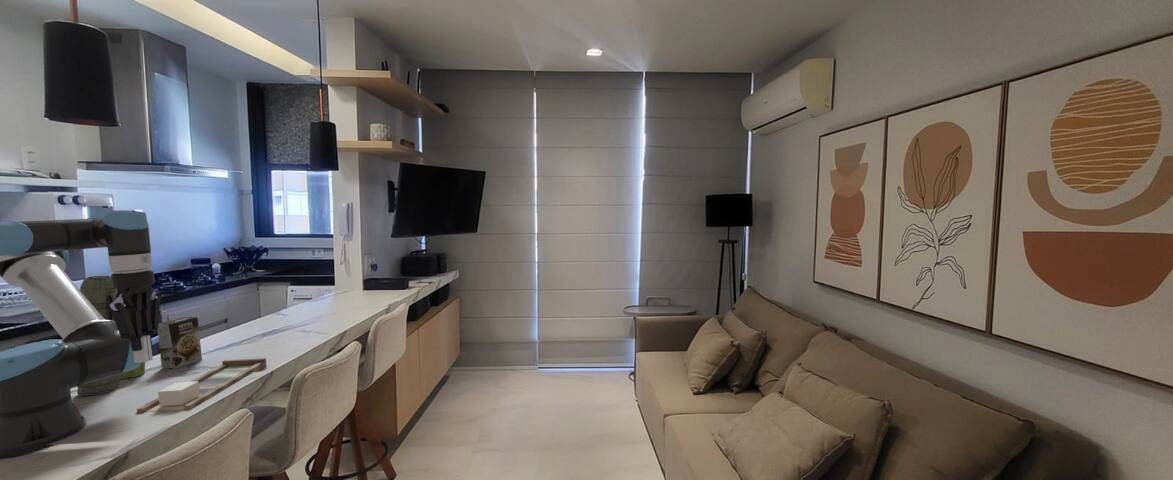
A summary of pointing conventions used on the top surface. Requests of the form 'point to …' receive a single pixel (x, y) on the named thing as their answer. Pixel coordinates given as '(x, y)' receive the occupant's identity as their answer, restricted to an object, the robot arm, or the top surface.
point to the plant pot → (134, 372)
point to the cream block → (179, 393)
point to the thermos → (99, 297)
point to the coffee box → (179, 342)
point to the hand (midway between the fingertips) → (143, 361)
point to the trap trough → (213, 382)
